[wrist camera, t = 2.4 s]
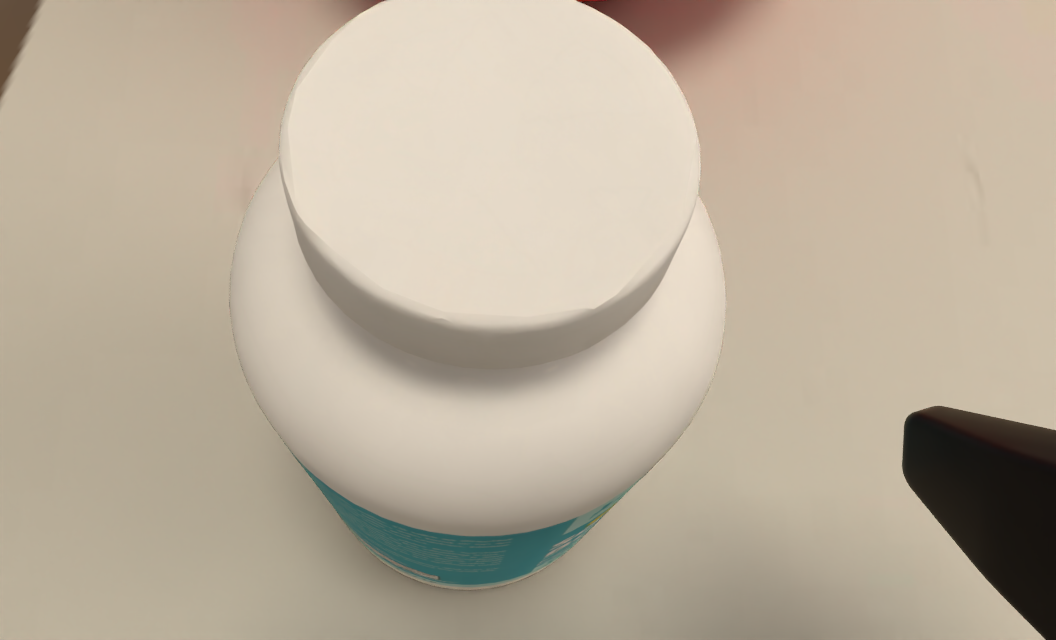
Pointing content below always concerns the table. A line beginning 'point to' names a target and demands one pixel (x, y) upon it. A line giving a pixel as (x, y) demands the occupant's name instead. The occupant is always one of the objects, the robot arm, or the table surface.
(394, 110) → the pill bottle
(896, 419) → the table surface
